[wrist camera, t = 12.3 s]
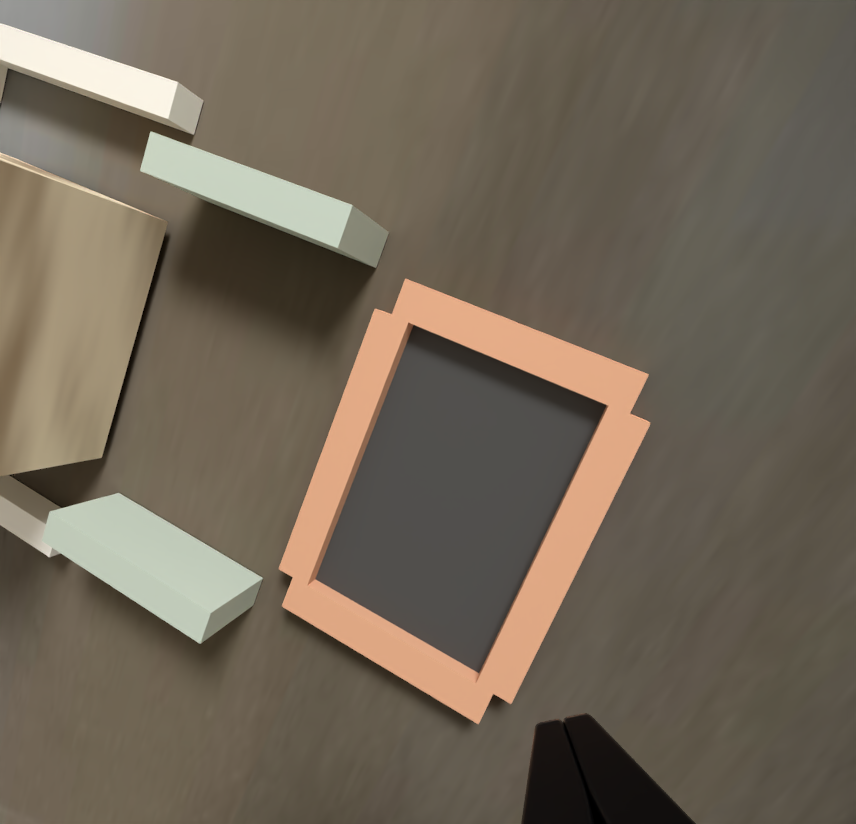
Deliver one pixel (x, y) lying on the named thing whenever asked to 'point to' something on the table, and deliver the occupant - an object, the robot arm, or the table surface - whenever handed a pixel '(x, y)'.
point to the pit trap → (459, 494)
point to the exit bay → (111, 85)
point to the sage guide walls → (131, 523)
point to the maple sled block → (66, 313)
